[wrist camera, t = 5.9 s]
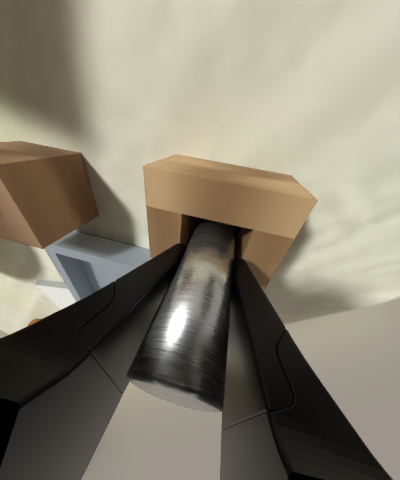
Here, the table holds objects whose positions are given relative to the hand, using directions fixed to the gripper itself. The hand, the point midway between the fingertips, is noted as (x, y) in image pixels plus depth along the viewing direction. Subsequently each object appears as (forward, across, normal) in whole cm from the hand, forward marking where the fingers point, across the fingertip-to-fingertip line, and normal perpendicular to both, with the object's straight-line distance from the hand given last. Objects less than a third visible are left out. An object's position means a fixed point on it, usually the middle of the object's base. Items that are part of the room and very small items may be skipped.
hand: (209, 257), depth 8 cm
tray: (+5, +9, +11) cm, 15 cm away
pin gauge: (+2, 0, 0) cm, 2 cm away
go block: (+5, 0, 0) cm, 5 cm away
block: (+5, +13, 0) cm, 14 cm away
